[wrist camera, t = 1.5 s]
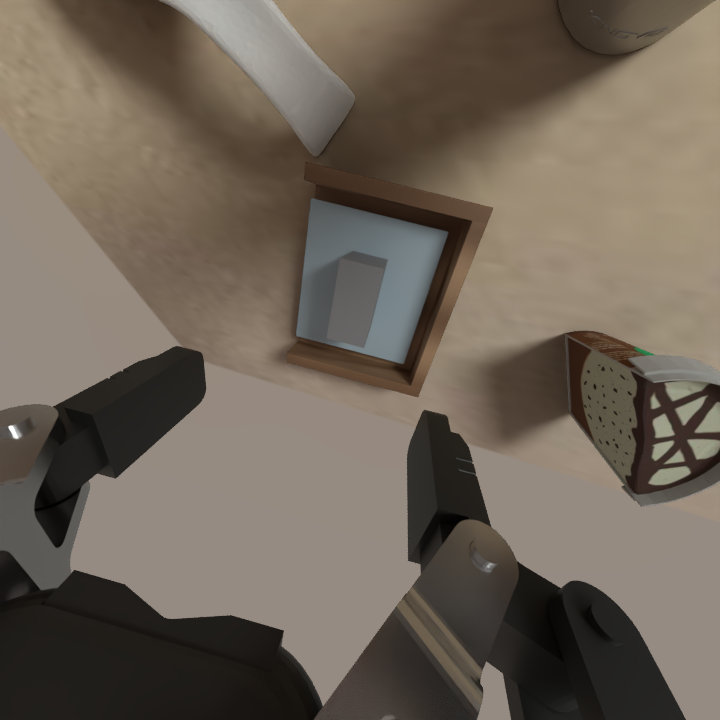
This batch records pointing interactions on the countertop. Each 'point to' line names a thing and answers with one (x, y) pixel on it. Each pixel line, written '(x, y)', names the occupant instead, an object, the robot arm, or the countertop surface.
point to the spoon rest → (276, 64)
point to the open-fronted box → (444, 290)
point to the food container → (646, 415)
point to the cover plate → (397, 283)
